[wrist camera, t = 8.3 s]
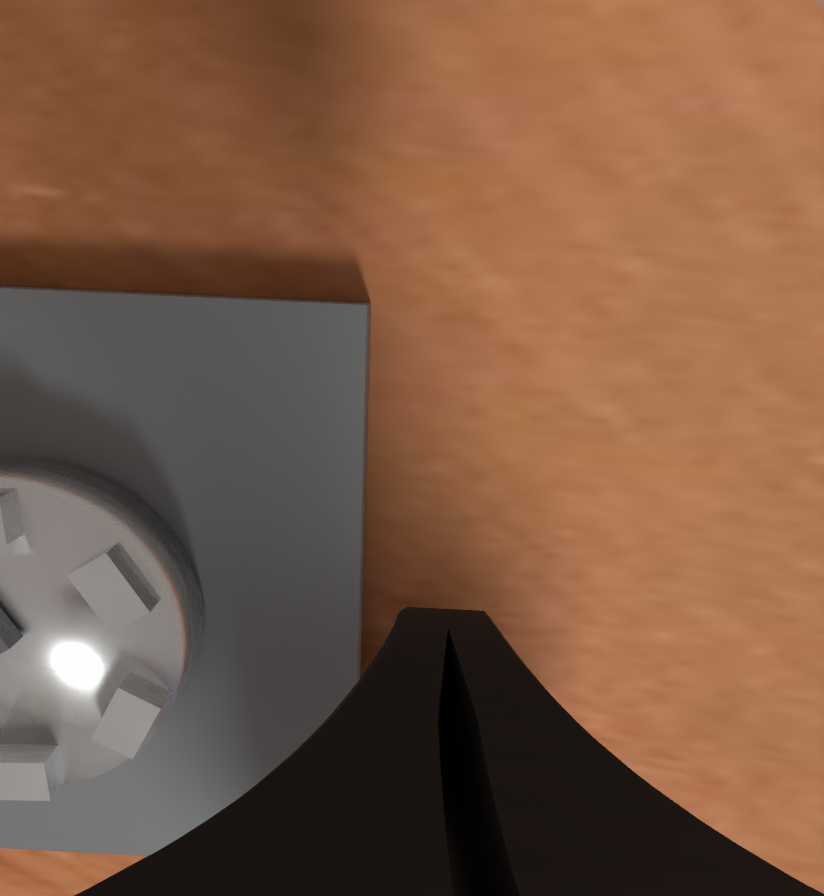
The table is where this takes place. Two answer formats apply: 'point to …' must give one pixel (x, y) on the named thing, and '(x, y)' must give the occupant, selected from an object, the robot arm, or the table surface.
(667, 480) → the table surface
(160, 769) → the base plate
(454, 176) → the table surface
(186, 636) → the lathe jaw chuck
